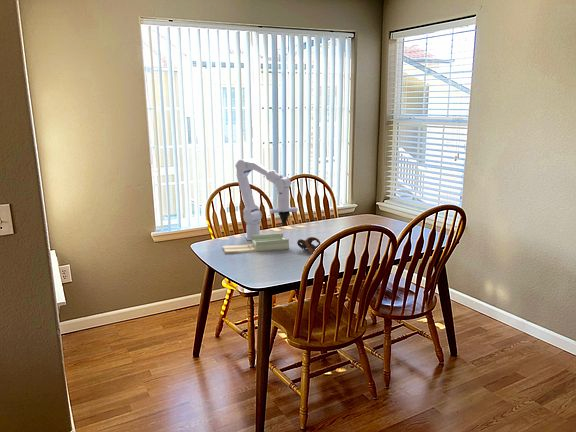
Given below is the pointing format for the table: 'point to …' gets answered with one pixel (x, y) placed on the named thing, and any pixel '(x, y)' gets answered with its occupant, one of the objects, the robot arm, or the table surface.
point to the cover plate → (239, 248)
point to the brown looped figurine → (308, 244)
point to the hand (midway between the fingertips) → (284, 225)
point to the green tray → (270, 242)
